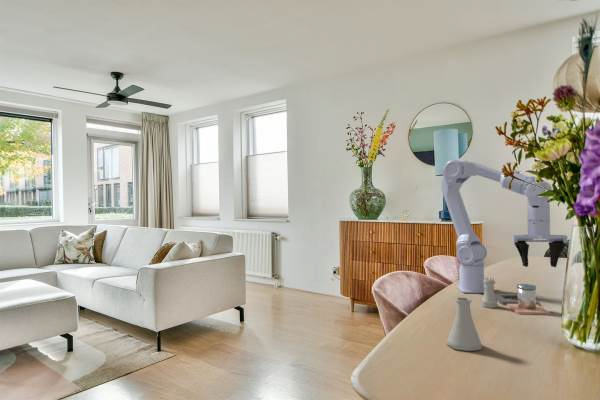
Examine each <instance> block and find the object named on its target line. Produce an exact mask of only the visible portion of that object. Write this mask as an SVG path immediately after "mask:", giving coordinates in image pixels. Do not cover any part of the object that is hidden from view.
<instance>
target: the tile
mask: <svg viewBox="0 0 600 400" xmlns="http://www.w3.org/2000/svg"><path fill="white" fill-rule="evenodd" d="M506 306H507V307H508V308H509V309H510V310H512V311H513V312H514V313H515V314H517V315H541V316H551V312H550V311H548V310H547V309H545V308H544V307H542V306H541V305H540V306H539V305H537V304H536V309H533V310H528V309H522V308H519V307H518V304H507V305H506Z"/></svg>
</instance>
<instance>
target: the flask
mask: <svg viewBox="0 0 600 400" xmlns="http://www.w3.org/2000/svg"><path fill="white" fill-rule="evenodd" d="M455 302H456V313H455V318H454V321H453V324H452V326H451V328H450V332H449V335H448V337H447V341H446V345H447V346H449V347H451V348H452V349H453V350H460V351H467V352H473V351H481V350H483V344H482V341H481V339H480V336H479V333H478V331H477V328H476V326H475V323H474V320H473V316H472V312H471V304H472V299H471V298H469V297H466V296H465V297H464V296H460V297H459V296H457V297H455Z"/></svg>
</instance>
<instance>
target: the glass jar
mask: <svg viewBox="0 0 600 400" xmlns="http://www.w3.org/2000/svg"><path fill="white" fill-rule="evenodd" d="M516 287H517V288H516V289H517V293H516V294H517V295H518V298H517V301H518V307H519V308H522V309H528V310H533V309H536V301H537V296H536V295H537V286H536V285H534V284H529V283H518V284H516Z"/></svg>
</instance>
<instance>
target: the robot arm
mask: <svg viewBox="0 0 600 400" xmlns="http://www.w3.org/2000/svg"><path fill="white" fill-rule="evenodd" d="M502 172H503V171H500V170H497V169H495V168H493V167H489V166H486V165H485V164H484V165H483V164H481V163H477V162H470V161H468V160H456V159H450V160H448V161H447V162H446V163H445V164H444V165H443V168H442V169H441V173H442V180H441V191H442V195H443V198H444V201H445V204H446V207H447V209H448V213H449V215H450V219H451V221H452V224H453V227H454V231H455V232H456V236H457V240H456V242H455V245H456V249H457V250H456V251H457V252H456V257H457V259H458V261H459V263H460V266H459V269H458V271H459V275H458V276H459V284H456V287H457V289H459V290H460V292H462V293H467V294H468V293H469V294H484V291H485V288H484V286H485V284H484V282H483V281H484V278H485V262H484V260H485V258H487V255H488V251H487V248H486V246H484V244H483V243H482V242H481V240H480V237H479V236H477V235H476V234H475V232H474V231H475V230H474V228H473V226H472V223H471V220H470V218H469V215H468V213H467V209H466V206H465V203H464V200H463V198H462V195H461V192H460V189H461V188H462V186H463V184H464V183H465V182H466V181H468V180H469V179H470V178H471V177H475V176H479V177H482V178H485V179H488V180H492V181H495V182H499V183H500V185H501V188H503V189H506V190H508V191H512V192H514V193H516V194H519V195H522V196H525V197H526V199H527V210H526V211H527V234H512V235H511V242H512V243H513V244H514V246H515V247H516V249H517V251H518V253H519V256H520V259H521V263H522V267H526V268H527V267H529V247H530V244H528V243H548V246H549V255H550V257H549V259H550V261H549V262H550V266H551V267H553V268H557V264H558V261H559V258H560V256H561V254H562V252H563V250H564V248H565V247H566V243H568V235H567V234H551V205H550V202H549V203H547V204H546V201H547V200H548V199H549V200H550V196H549V197H538V196H536V195H537V194H539V193H542V192H545V191H546V190H545V189H544V188H546V189H549V190H552V191H553V189H552V188H553V187H552V185H551V183H549V182H548V181H545V179H542V180H543V182H542V183H539V184H538V183H536V181H535V180H536V176H533V175H531V176H528V175H525V174H522V173H520V172H521V171H520V170H517V169H516V170H515V172H514V171H513V172H514V176H515V177H517V178H519V179H521V180H524V181H526V182H529V183H532V184H535V185H538V186H541V187H544V188H540V187H536V186H533V185H531V184H529V183H526V182H523V181H520V180H517V179H514V180H513V181H512V184H511V189H509V188H508V187H509V182H510V181H511V179H512V178H511V177H504V175H503V173H504V172H503V173H502Z"/></svg>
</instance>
